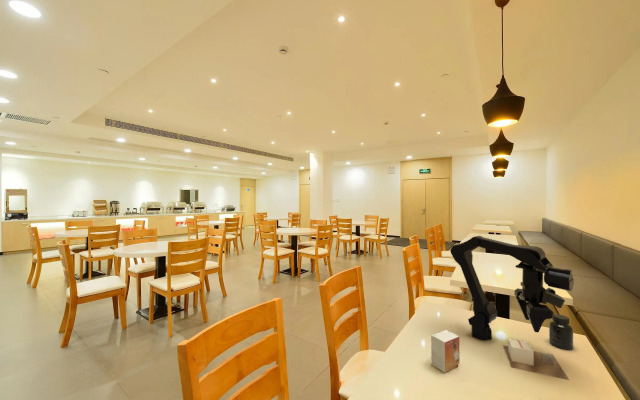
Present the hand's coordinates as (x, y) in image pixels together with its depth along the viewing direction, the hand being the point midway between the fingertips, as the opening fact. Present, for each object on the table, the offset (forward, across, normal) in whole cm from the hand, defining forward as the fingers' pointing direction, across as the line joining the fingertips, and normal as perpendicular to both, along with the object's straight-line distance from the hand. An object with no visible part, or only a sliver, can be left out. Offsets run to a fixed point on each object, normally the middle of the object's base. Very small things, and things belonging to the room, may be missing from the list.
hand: (531, 325), depth 93 cm
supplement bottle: (+12, +13, -13) cm, 22 cm away
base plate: (+12, -3, 0) cm, 13 cm away
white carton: (+11, -3, +4) cm, 12 cm away
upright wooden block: (+11, -3, -4) cm, 12 cm away
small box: (+13, -15, +28) cm, 34 cm away
